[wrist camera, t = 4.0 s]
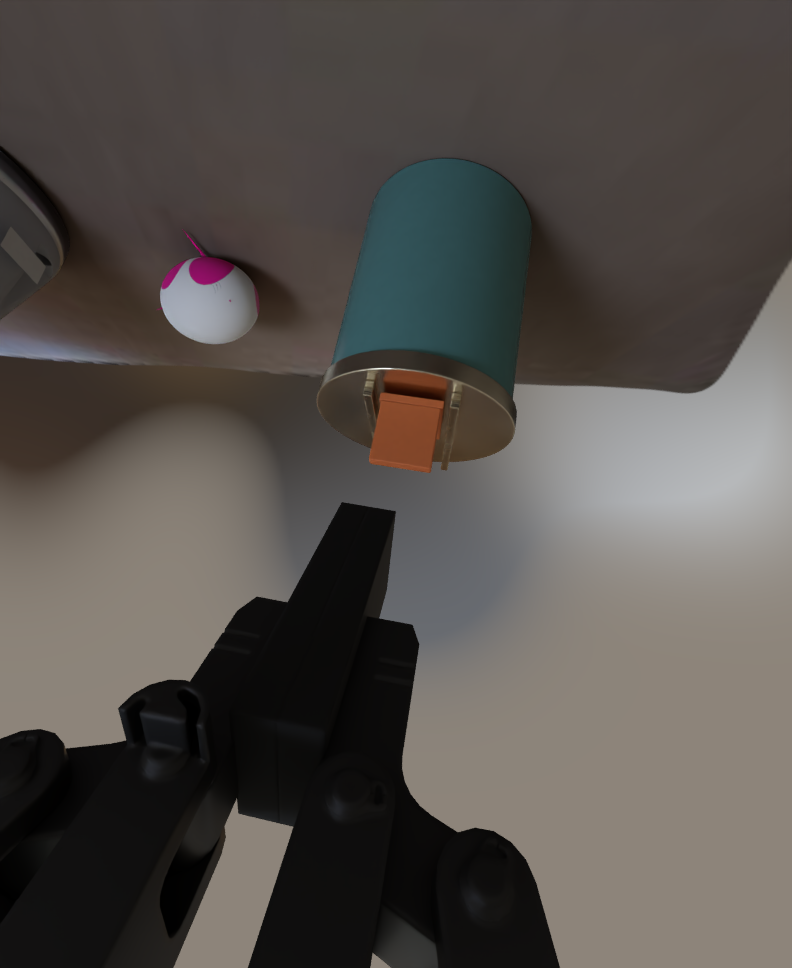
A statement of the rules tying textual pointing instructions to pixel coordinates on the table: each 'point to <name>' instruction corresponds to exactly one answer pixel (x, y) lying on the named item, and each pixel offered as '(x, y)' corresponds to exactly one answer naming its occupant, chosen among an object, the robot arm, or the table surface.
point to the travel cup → (436, 308)
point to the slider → (406, 432)
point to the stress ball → (209, 300)
